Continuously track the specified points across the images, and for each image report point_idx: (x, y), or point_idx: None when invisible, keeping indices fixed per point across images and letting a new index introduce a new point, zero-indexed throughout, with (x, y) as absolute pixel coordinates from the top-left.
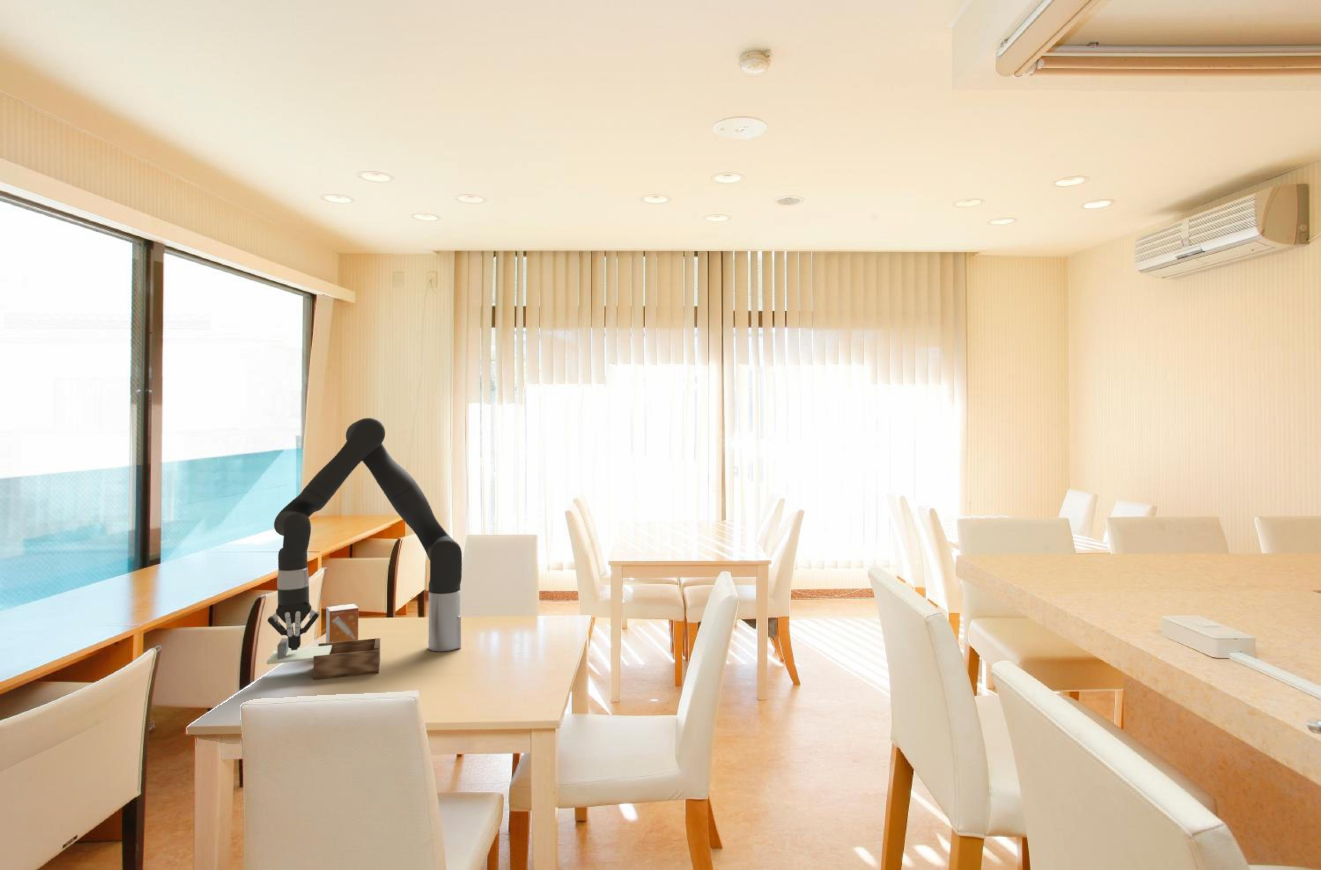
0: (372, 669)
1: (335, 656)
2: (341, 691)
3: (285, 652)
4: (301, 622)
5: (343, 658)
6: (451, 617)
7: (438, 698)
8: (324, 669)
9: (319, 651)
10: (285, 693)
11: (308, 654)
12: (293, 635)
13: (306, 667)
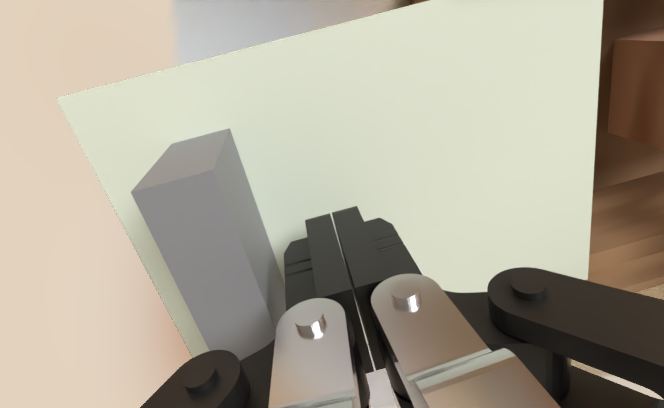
0: None
1: (631, 279)
2: (576, 363)
3: (281, 291)
4: (530, 387)
5: (661, 254)
6: None
7: None
8: None
9: (516, 169)
10: (370, 388)
11: (447, 240)
12: (357, 342)
13: (332, 14)
